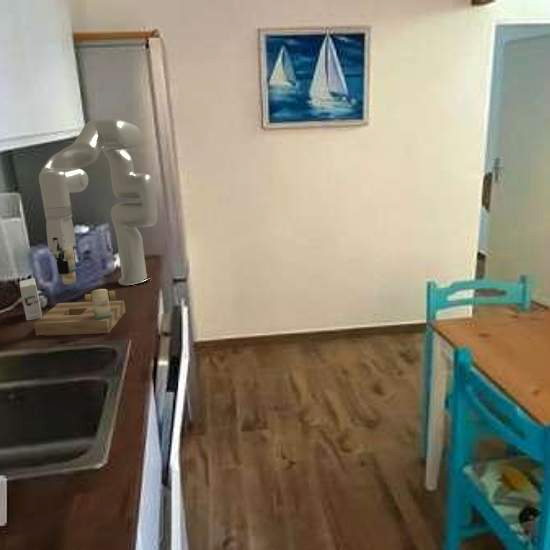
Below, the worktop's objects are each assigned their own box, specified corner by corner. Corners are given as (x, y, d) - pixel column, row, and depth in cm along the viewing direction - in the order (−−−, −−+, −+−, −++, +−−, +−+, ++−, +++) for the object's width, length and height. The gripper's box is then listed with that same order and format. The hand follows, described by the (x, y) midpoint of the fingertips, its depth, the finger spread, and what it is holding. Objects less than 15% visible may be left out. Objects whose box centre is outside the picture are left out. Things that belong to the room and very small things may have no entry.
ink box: (25, 313, 176) (18, 280, 172) (40, 310, 178) (34, 277, 175) (26, 321, 169) (19, 286, 165) (42, 318, 171) (36, 284, 167)
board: (60, 314, 173) (54, 280, 170) (125, 311, 173) (120, 277, 169) (36, 335, 156) (29, 298, 152) (108, 333, 156) (103, 295, 152)
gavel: (83, 283, 196) (110, 280, 200) (85, 295, 197) (112, 291, 201) (84, 296, 177) (114, 291, 180) (86, 309, 178) (116, 304, 181)
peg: (65, 280, 162) (59, 243, 159) (80, 280, 162) (74, 242, 159) (58, 285, 158) (52, 246, 154) (74, 284, 158) (68, 246, 154)
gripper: (57, 208, 162) (66, 264, 167) (33, 217, 146) (43, 279, 151) (81, 207, 162) (89, 263, 167) (59, 216, 146) (69, 278, 151)
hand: (67, 270), depth 159 cm, fingers closed on peg, 4 cm apart
